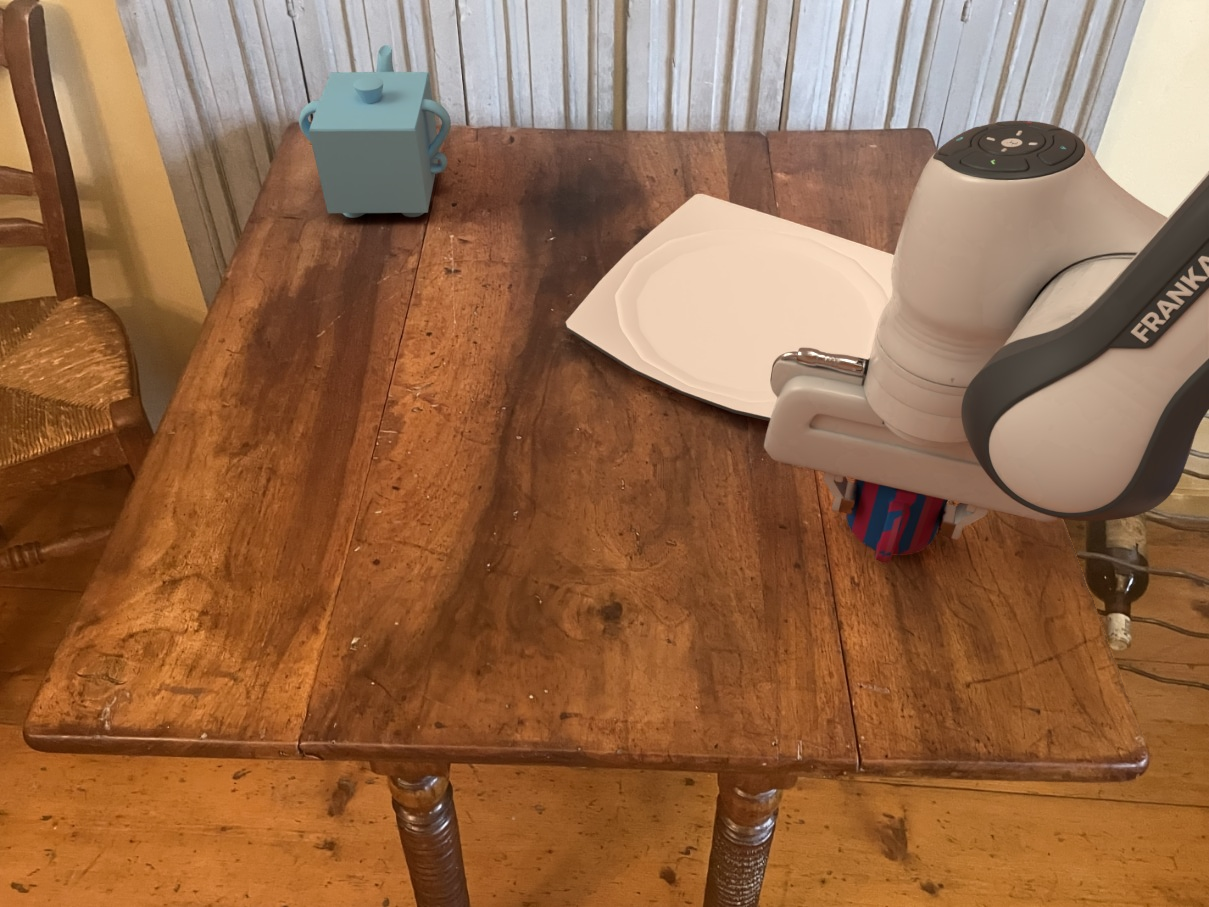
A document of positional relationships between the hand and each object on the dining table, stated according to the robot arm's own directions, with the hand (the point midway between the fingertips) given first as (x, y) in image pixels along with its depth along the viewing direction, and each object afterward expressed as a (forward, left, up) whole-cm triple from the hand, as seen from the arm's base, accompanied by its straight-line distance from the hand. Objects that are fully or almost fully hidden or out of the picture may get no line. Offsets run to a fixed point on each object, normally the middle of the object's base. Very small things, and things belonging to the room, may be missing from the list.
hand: (895, 518), depth 72 cm
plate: (+16, -24, -4) cm, 29 cm away
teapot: (+59, -35, -4) cm, 69 cm away
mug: (0, -1, -3) cm, 3 cm away
